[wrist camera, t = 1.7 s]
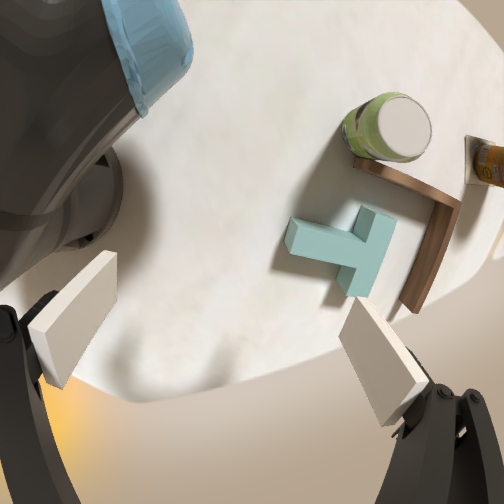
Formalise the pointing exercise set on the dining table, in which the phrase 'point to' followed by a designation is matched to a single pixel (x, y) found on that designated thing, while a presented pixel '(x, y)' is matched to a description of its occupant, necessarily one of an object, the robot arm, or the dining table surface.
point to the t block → (345, 247)
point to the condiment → (484, 162)
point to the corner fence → (435, 233)
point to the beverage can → (388, 129)
